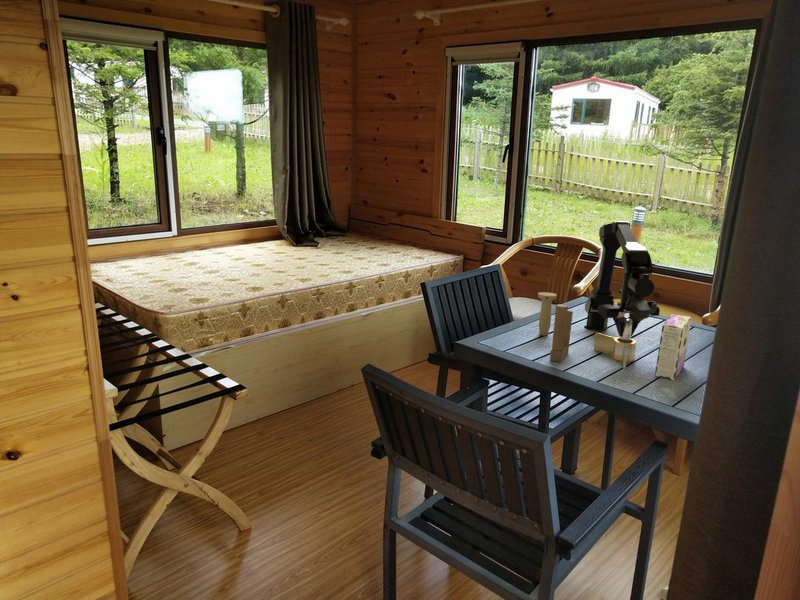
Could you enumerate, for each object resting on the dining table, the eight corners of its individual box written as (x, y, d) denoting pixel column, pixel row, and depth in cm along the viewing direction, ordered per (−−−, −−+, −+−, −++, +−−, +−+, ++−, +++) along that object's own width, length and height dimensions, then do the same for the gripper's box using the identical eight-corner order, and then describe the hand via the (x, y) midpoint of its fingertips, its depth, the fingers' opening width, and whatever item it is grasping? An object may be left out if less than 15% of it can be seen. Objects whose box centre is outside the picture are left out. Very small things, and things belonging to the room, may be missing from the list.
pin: (616, 349, 193) (620, 319, 191) (621, 346, 195) (625, 317, 193) (626, 351, 191) (630, 321, 188) (630, 349, 193) (634, 319, 191)
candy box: (664, 362, 191) (671, 313, 187) (684, 367, 188) (692, 316, 183) (654, 376, 180) (661, 323, 176) (675, 380, 177) (683, 327, 172)
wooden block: (568, 352, 198) (574, 299, 193) (561, 363, 189) (566, 307, 184) (557, 350, 199) (562, 298, 195) (549, 360, 190) (554, 306, 185)
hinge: (579, 355, 195) (581, 338, 194) (598, 347, 203) (600, 330, 202) (624, 369, 184) (627, 351, 183) (643, 360, 192) (645, 342, 191)
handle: (534, 331, 218) (538, 291, 214) (553, 333, 217) (557, 293, 212) (534, 335, 214) (537, 294, 210) (552, 337, 212) (556, 296, 208)
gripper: (619, 296, 178) (613, 346, 182) (674, 294, 182) (667, 342, 187) (599, 287, 189) (594, 334, 193) (651, 285, 193) (645, 331, 197)
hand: (625, 336), depth 192 cm, fingers closed on pin, 3 cm apart
